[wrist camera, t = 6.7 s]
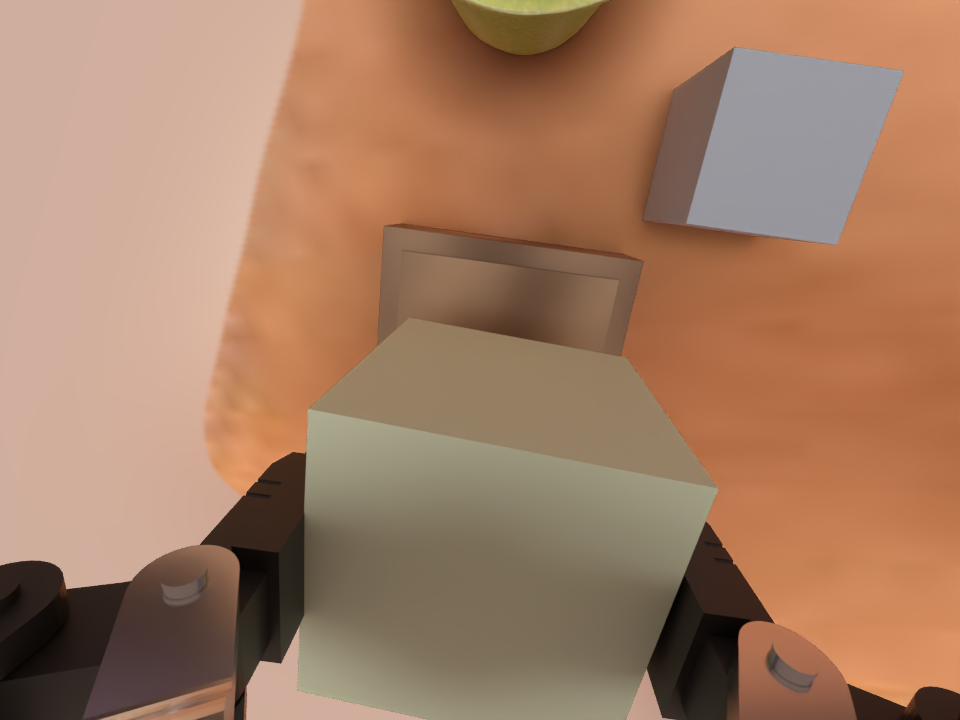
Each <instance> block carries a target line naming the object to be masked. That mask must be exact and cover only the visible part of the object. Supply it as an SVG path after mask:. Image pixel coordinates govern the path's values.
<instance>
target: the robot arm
mask: <svg viewBox="0 0 960 720" xmlns="http://www.w3.org/2000/svg"><path fill="white" fill-rule="evenodd" d="M305 475H306V453H305V454H303V453H296V452H292V453H290V454H289V455H287V456H285V457H283V458H281V459H280V460H278V461H276V462H274V463H272V464H271V465H270V467H269V468H268V469H267V470H266V471H265V472H264V473H263V474H262V475H261V477H260V478H259V479H258V482H255V483H254V484H253V486H252V487H251V488H250V489H249V490H248V491H247V494H246V496H243V497H242V498H241V499H240V500H239V501H238V503H237V504H236V505H235V506H234V507H233V508H232V509H231V510H230V511H229V512H228V514H227V515H226V516H225V517H224V518H223V519H222V520H221V522H219V524H218V525H217V526H216V527H215V528H214V529H213V530H212V531H211V533H210V534H209V535H208V536H207V537H206V538H205V539H204V540H203V541H202V543H201V544H200V545H197V546H190V547H186V548H181V549H178V550H175V551H173V552H170V553H168V554H165V555H163V556H161V557H159V558H158V559H156V560H154V561H153V562H151V563H150V564H148V565H147V566H146V567H144V568H143V569H142V570H141V571H140V572H139V573H138V574H137V575H136V576H135V577H134V578H133V580H132V581H129V582H123V583H115V584H106V585H98V586H90V587H81V588H73V589H66V586H65V582H64V577H63V573H62V571H61V570H60V568H59V567H57V566H56V565H54V564H51V563H48V562H43V561H21V562H15V563H9V564H5V565H1V566H0V720H246V707H247V687H246V686H247V684H248V682H249V680H250V679H251V677H252V675H253V673H254V671H255V669H256V667H257V665H258V664H259V662H260V661H267V662H275V663H282V660H283V658H284V656H285V654H286V652H287V650H288V648H289V646H290V644H291V642H292V640H293V638H294V636H295V634H296V631H297V629H298V627H299V625H300V623H301V621H302V619H303V617H304V501H305ZM647 671H648V674H649V677H650V680H651V683H652V687H653V689H654V693H655V696H656V699H657V702H658V705H659V709H660V712H661V715H662V718H668V719H675V720H960V694H958V693H956V692H953V691H950V690H947V689H943V688H939V687H923V688H921V689H919V690H918V691H917V692H916V694H915V695H914V697H913V698H912V700H911V701H910V703H909V704H908V706H907V707H904V706H901V705H899V704H896V703H894V702H892V701H889V700H887V699H884V698H882V697H879V696H877V695H874V694H872V693H869V692H867V691H864V690H862V689H859V688H857V687H854V686H852V685H849V684H847V683H846V681H845V679H844V677H843V675H842V674H841V673H840V671H839V670H838V668H837V667H836V666H835V665H834V664H833V662H832V661H831V660H830V659H829V658H828V657H827V656H826V655H825V654H824V653H823V652H822V651H821V650H819V649H818V648H817V647H816V646H815V645H813V644H812V643H811V642H809V641H808V640H806V639H805V638H804V637H802V636H800V635H799V634H797V633H795V632H793V631H791V630H789V629H787V628H785V627H782V626H780V625H777V624H775V623H774V622H773V620H772V619H771V617H770V616H769V614H768V613H767V611H766V610H765V608H764V607H763V605H762V603H761V602H760V600H759V599H758V597H757V596H756V594H755V593H754V591H753V590H752V588H751V587H750V585H749V584H748V582H747V581H746V579H745V578H744V576H743V575H742V573H741V572H740V570H739V569H738V567H737V566H736V565H735V564H733V560H732V558H731V557H730V555H729V554H728V552H727V551H726V549H725V548H722V543H721V541H720V540H719V538H718V537H717V535H716V534H715V532H714V531H713V529H712V528H711V526H710V525H709V524H708V523H707V522H705V524H704V526H703V529H702V531H701V534H700V536H699V539H698V541H697V544H696V546H695V549H694V551H693V554H692V556H691V559H690V561H689V564H688V566H687V569H686V571H685V574H684V576H683V579H682V581H681V584H680V586H679V589H678V591H677V594H676V596H675V599H674V601H673V604H672V606H671V609H670V611H669V614H668V616H667V619H666V621H665V624H664V626H663V629H662V631H661V634H660V636H659V638H658V641H657V643H656V646H655V648H654V651H653V653H652V656H651V658H650V661H649V663H648V666H647Z"/></svg>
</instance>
